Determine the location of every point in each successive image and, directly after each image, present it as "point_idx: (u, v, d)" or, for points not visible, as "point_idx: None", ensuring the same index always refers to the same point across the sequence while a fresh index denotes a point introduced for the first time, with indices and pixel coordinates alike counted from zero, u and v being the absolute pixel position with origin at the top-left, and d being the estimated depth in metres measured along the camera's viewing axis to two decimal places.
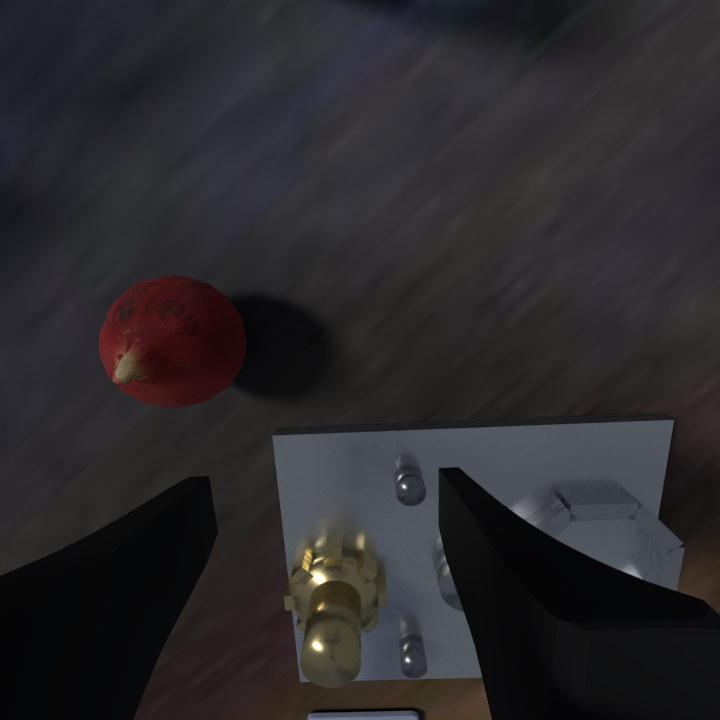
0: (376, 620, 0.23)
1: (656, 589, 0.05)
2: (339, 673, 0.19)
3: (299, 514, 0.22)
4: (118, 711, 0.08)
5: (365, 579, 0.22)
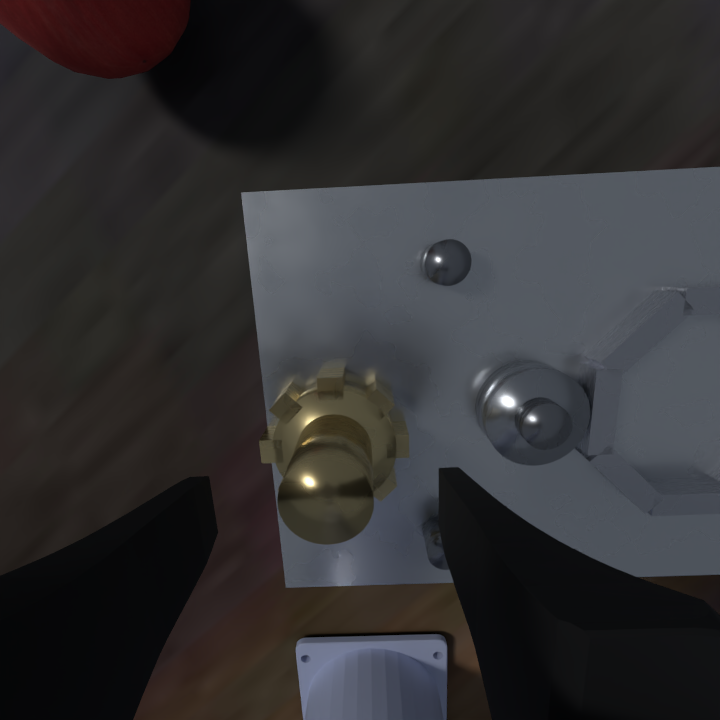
0: (393, 481, 0.16)
1: (656, 589, 0.05)
2: (340, 519, 0.12)
3: (282, 324, 0.16)
4: (118, 711, 0.08)
5: (378, 412, 0.15)
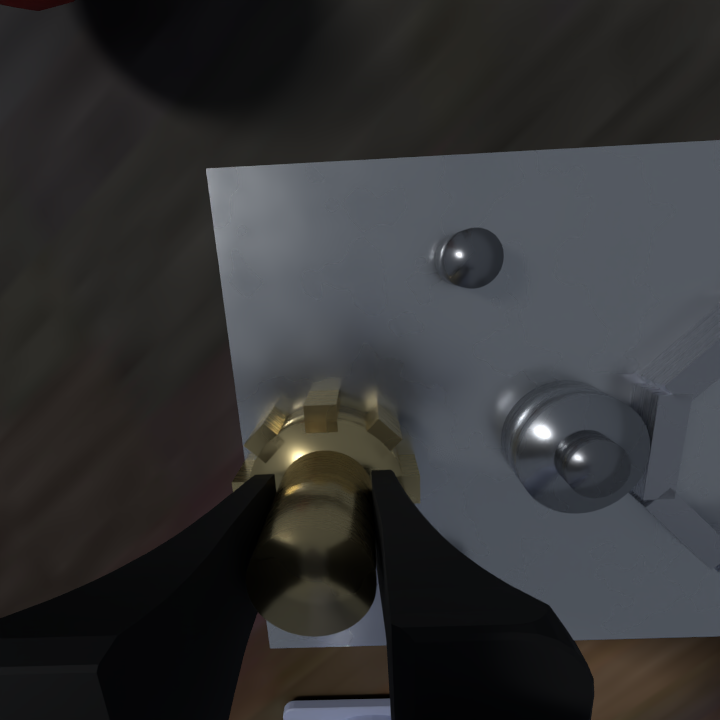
0: None
1: (512, 593, 0.05)
2: (331, 604, 0.09)
3: (261, 337, 0.12)
4: (219, 709, 0.07)
5: (381, 448, 0.12)
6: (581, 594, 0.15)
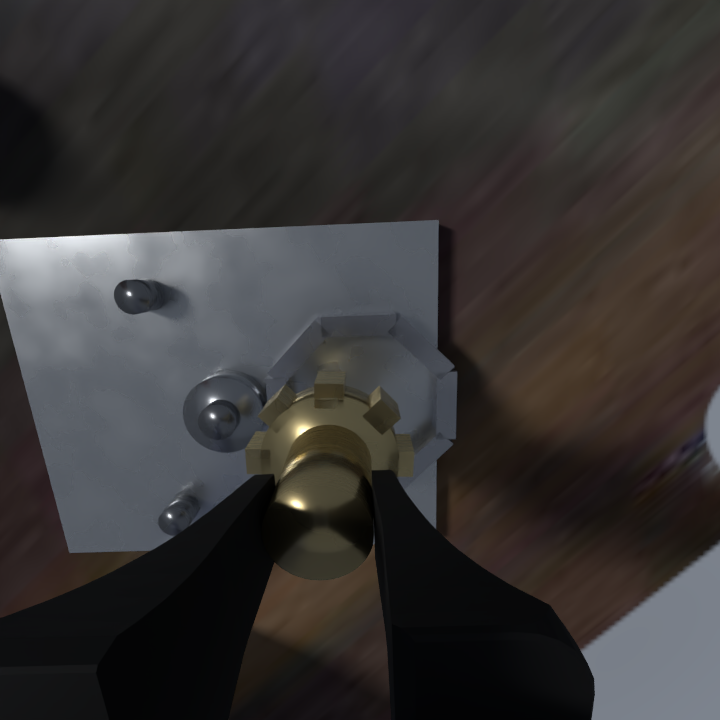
0: None
1: (512, 593, 0.05)
2: (333, 552, 0.10)
3: (33, 341, 0.20)
4: (219, 709, 0.07)
5: (381, 425, 0.13)
6: None
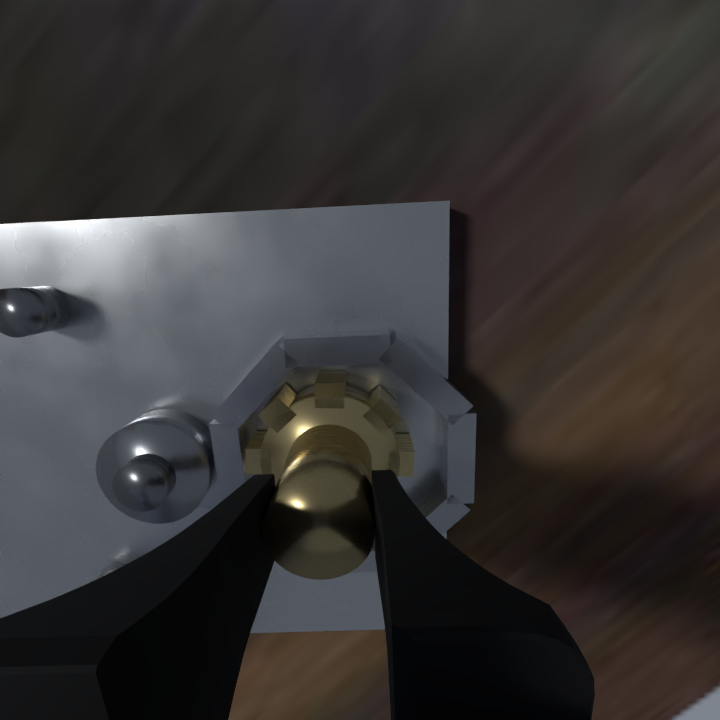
0: None
1: (512, 593, 0.05)
2: (333, 552, 0.10)
3: None
4: (219, 709, 0.07)
5: (381, 425, 0.13)
6: None
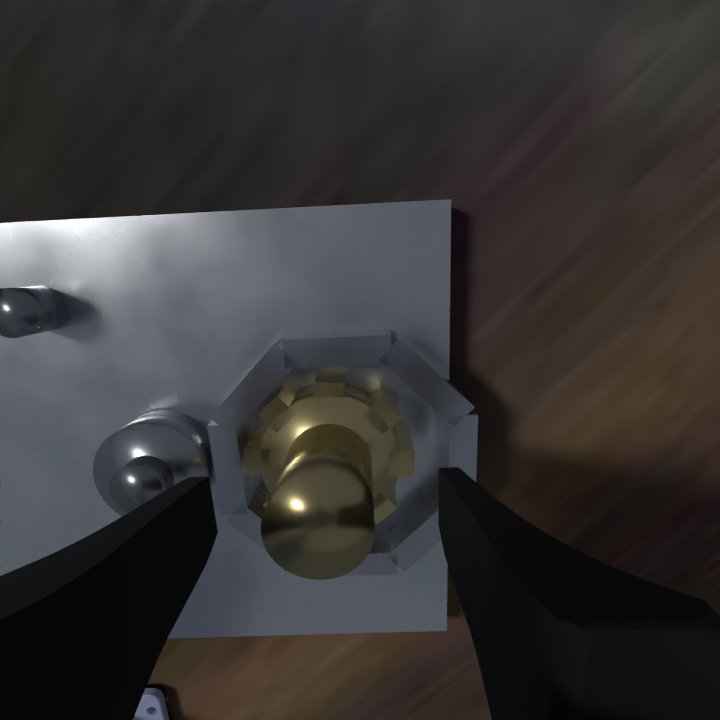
0: (393, 501, 0.14)
1: (656, 589, 0.05)
2: (333, 551, 0.10)
3: None
4: (118, 711, 0.07)
5: (381, 424, 0.13)
6: (226, 596, 0.17)
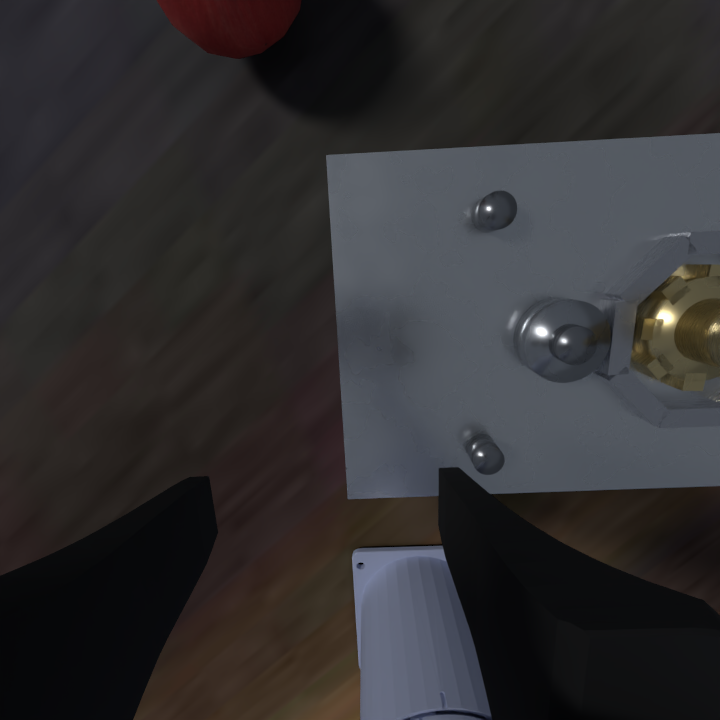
0: None
1: (656, 589, 0.05)
2: None
3: (355, 267, 0.19)
4: (118, 711, 0.08)
5: None
6: (568, 455, 0.21)
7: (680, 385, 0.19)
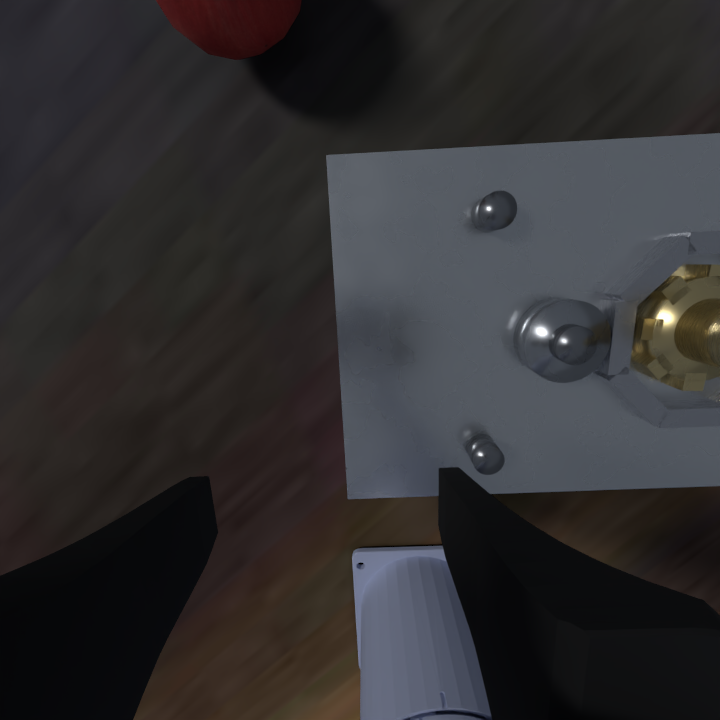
0: None
1: (656, 589, 0.05)
2: None
3: (355, 267, 0.19)
4: (118, 711, 0.08)
5: None
6: (568, 455, 0.21)
7: (680, 385, 0.19)
